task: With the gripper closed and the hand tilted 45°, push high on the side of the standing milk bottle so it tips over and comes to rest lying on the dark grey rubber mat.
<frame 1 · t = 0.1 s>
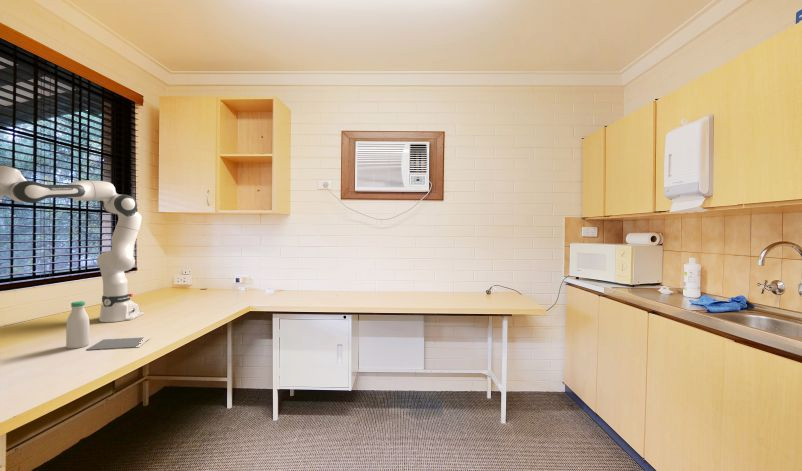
mat: (120, 343, 165), on the counter
milk bottle: (78, 346, 160), on the counter
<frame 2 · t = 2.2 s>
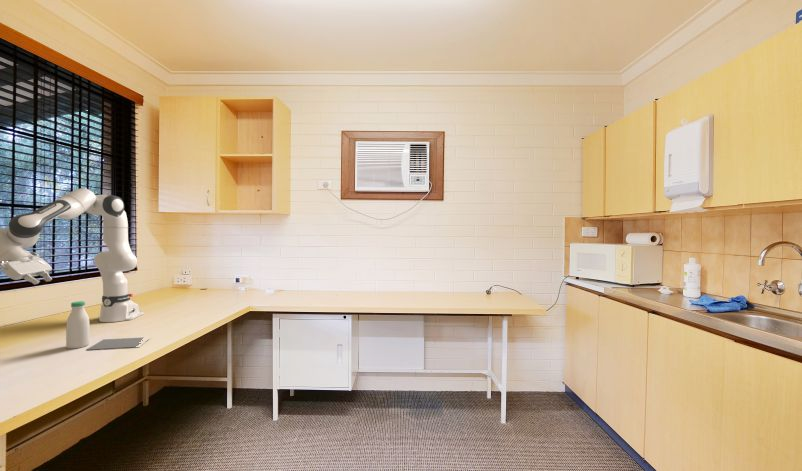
hand: (44, 281, 156), 29 cm above the counter, tool tilted 45°, fingers open, 6 cm apart
nothing on the counter moved.
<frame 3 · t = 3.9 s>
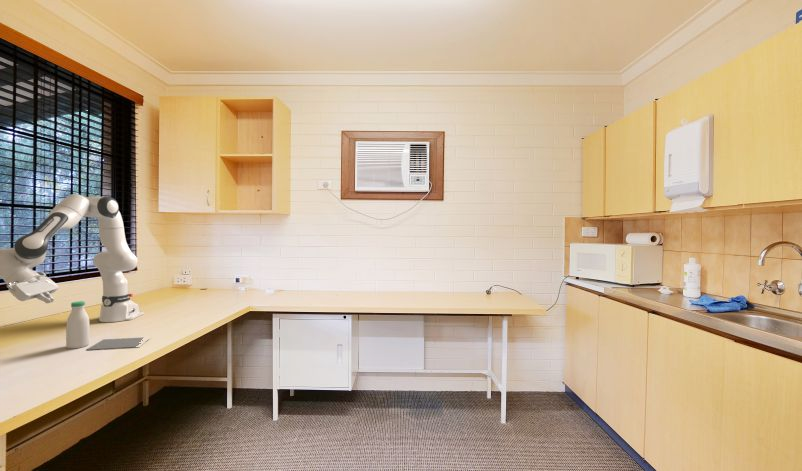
hand: (51, 301, 157), 20 cm above the counter, tool tilted 45°, fingers closed
nothing on the counter moved.
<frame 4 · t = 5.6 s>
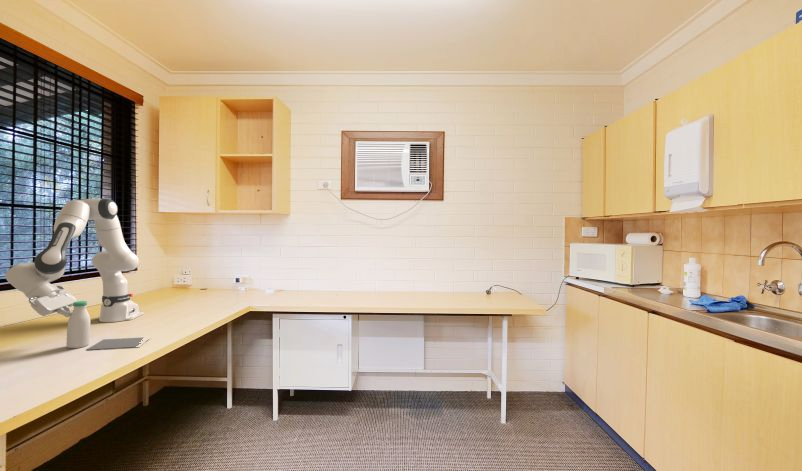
hand: (70, 315, 159), 14 cm above the counter, tool tilted 45°, fingers closed, pressing on milk bottle
milk bottle: (78, 346, 160), on the counter, touching gripper
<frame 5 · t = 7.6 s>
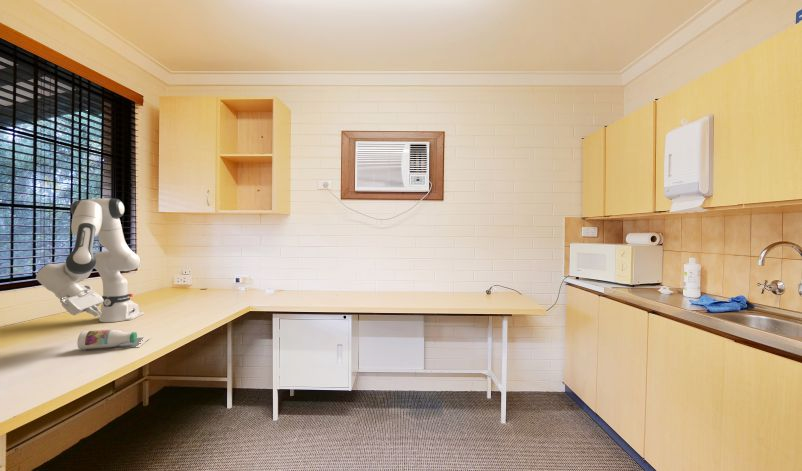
hand: (98, 314, 162), 14 cm above the counter, tool tilted 45°, fingers closed
milk bottle: (80, 340, 155), point 4 cm above the counter, touching mat
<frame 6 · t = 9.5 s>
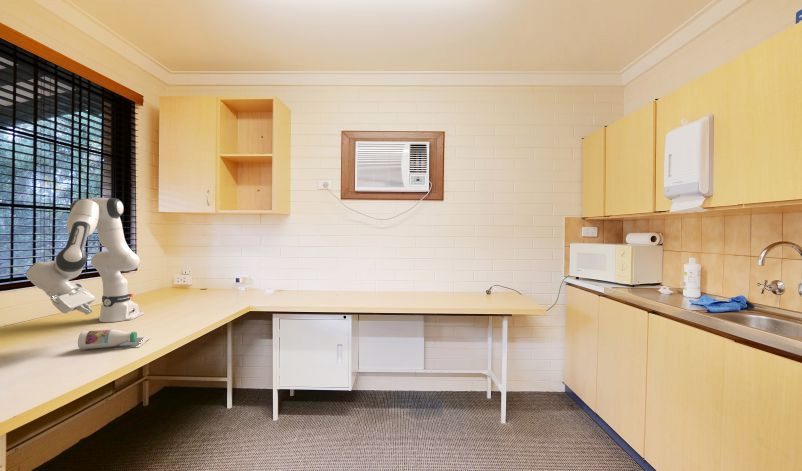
hand: (90, 312, 161), 15 cm above the counter, tool tilted 45°, fingers closed
nothing on the counter moved.
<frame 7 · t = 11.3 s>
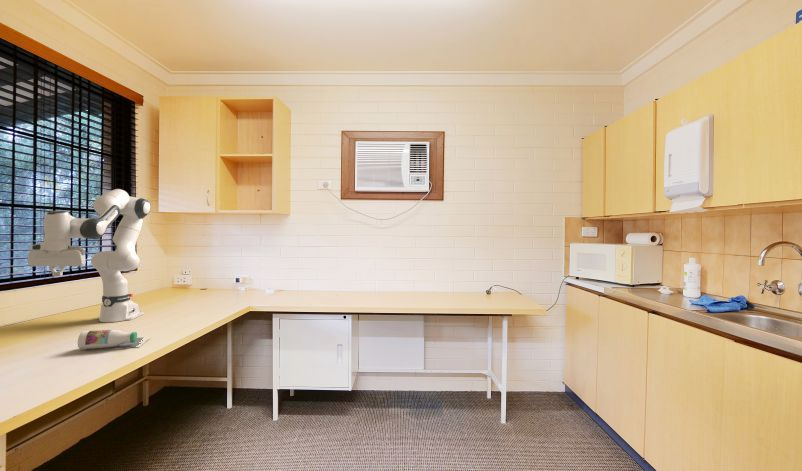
hand: (57, 275, 163), 31 cm above the counter, tool pointing down, fingers closed
nothing on the counter moved.
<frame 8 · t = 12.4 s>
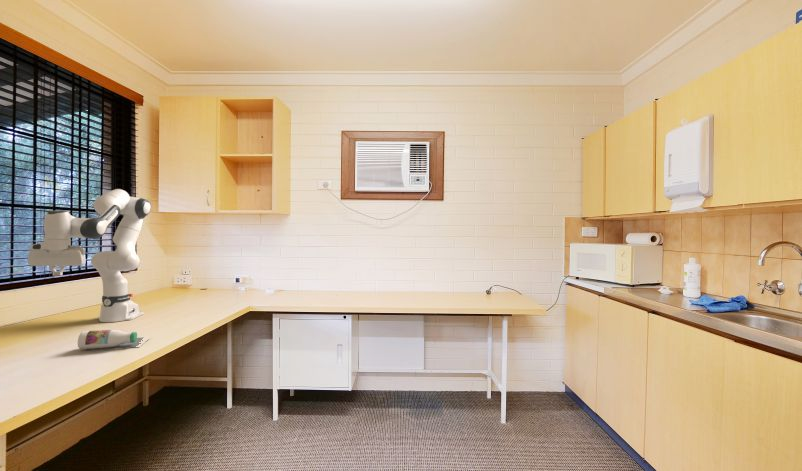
hand: (57, 275, 163), 31 cm above the counter, tool pointing down, fingers closed
nothing on the counter moved.
at the end: milk bottle tilted 91°; milk bottle inside the target area (7.9 cm from its centre), point 4.2 cm above the counter; the gripper is holding nothing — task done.
